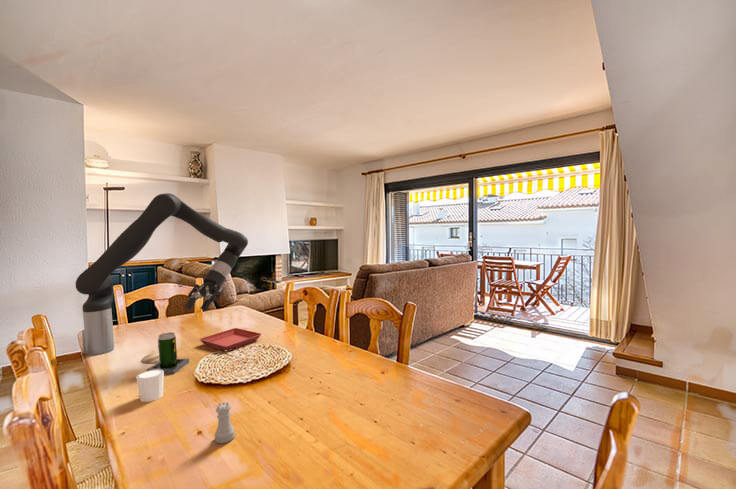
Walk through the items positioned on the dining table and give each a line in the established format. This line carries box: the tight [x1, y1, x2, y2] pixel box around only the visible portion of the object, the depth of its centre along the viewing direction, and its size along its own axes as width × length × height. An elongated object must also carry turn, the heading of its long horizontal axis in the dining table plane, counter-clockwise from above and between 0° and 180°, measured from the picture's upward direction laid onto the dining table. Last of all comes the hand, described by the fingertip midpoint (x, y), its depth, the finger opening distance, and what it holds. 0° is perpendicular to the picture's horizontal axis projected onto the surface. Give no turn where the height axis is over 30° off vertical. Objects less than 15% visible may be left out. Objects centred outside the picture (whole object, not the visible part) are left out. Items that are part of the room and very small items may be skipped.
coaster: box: [141, 351, 160, 364], centre depth 134 cm, size 11×11×1 cm
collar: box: [146, 358, 190, 375], centre depth 124 cm, size 10×10×2 cm
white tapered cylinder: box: [135, 369, 165, 403], centre depth 102 cm, size 7×7×7 cm
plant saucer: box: [199, 327, 262, 351], centre depth 149 cm, size 18×18×3 cm
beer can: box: [157, 332, 178, 368], centre depth 124 cm, size 5×5×12 cm
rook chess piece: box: [214, 401, 236, 445], centre depth 81 cm, size 4×4×8 cm
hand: (195, 309), depth 133 cm, fingers open, 8 cm apart
